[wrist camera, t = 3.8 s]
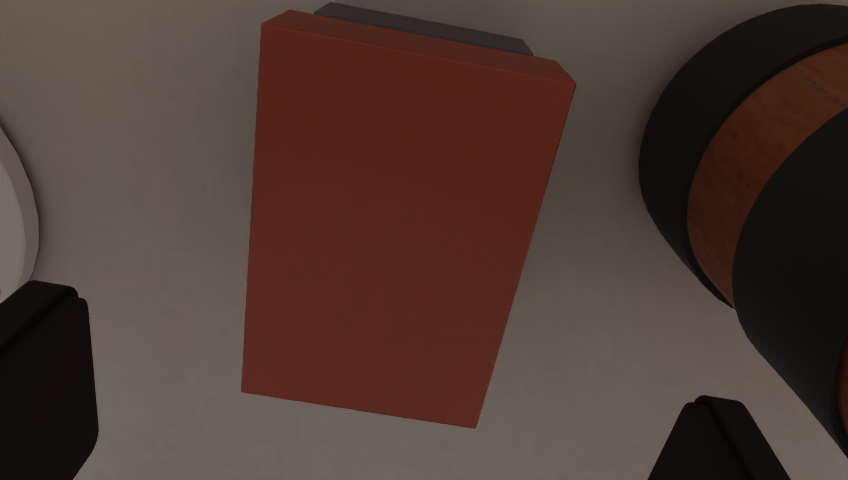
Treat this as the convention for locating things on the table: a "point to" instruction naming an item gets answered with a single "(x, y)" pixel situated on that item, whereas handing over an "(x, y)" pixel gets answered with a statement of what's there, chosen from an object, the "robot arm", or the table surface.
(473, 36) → the grey stack
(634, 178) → the table surface
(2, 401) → the robot arm
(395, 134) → the rust book
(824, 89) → the mug
